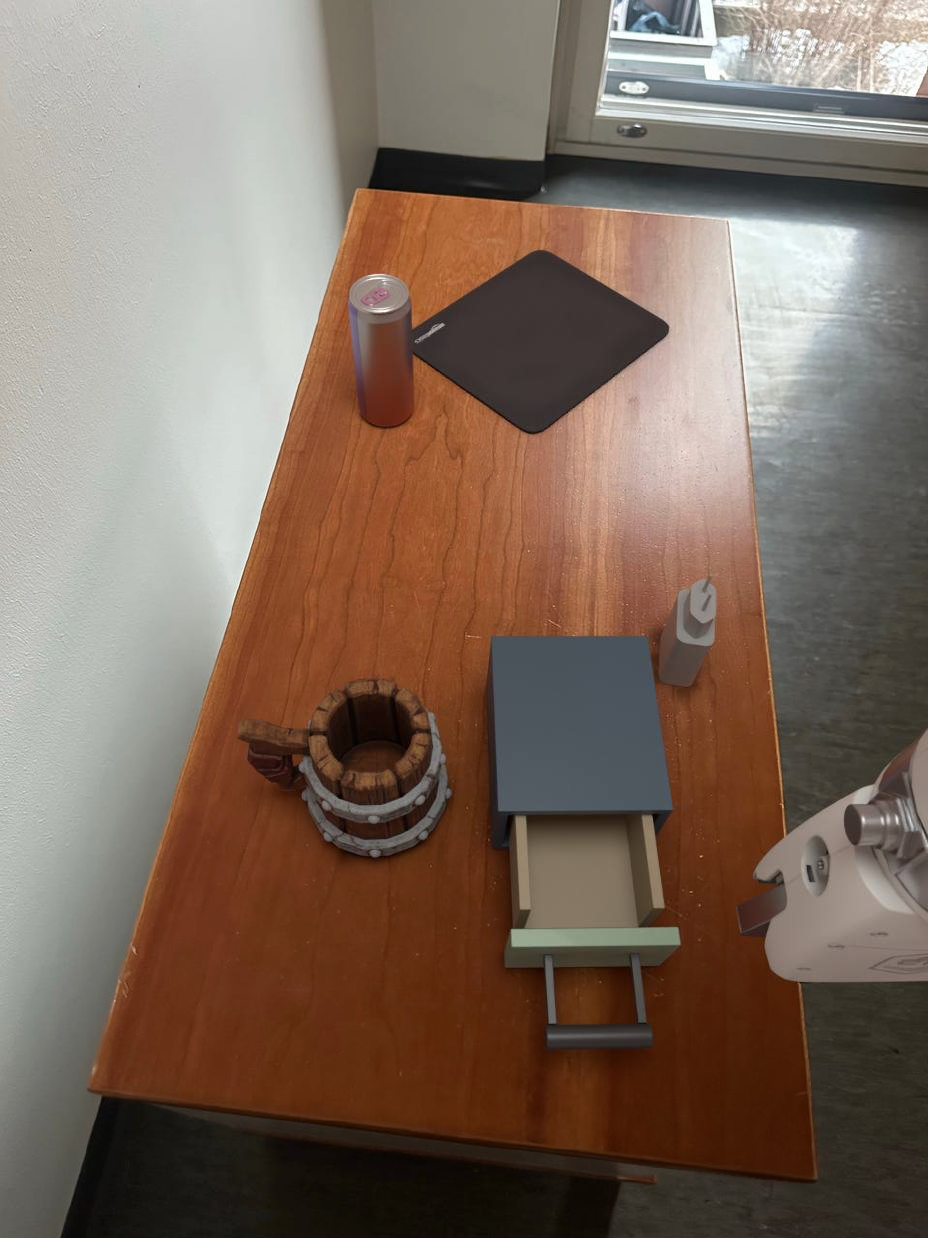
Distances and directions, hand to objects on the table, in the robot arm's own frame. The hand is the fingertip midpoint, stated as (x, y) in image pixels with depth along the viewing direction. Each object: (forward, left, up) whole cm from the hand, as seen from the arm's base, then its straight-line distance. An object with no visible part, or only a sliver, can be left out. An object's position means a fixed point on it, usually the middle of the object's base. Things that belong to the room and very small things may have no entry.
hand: (807, 951), depth 45 cm
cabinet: (+20, +8, -23) cm, 32 cm away
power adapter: (+30, -3, -23) cm, 38 cm away
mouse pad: (+73, +7, -23) cm, 77 cm away
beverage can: (+61, +24, -23) cm, 70 cm away
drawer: (+7, +8, -22) cm, 25 cm away
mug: (+17, +25, -23) cm, 38 cm away
